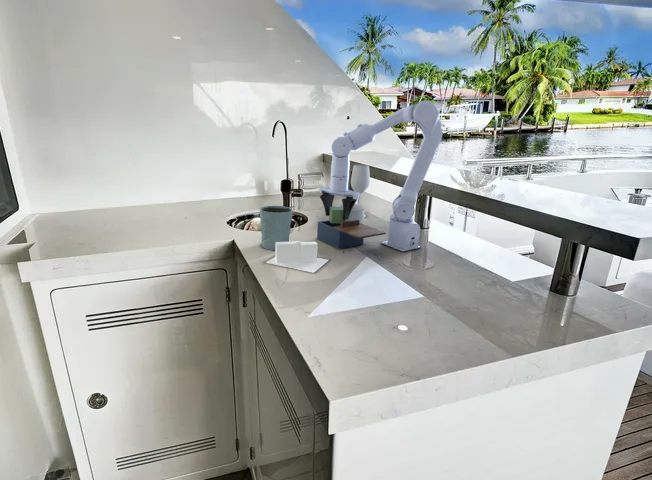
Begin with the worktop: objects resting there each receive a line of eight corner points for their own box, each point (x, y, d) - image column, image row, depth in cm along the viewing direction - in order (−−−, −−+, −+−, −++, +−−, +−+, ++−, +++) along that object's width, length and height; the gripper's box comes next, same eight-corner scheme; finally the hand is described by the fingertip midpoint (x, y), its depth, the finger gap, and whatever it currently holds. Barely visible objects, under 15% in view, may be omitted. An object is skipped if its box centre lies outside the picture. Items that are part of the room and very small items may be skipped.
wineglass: (367, 218, 157) (372, 166, 150) (349, 217, 157) (353, 166, 150) (364, 213, 164) (369, 164, 158) (347, 213, 165) (350, 164, 158)
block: (344, 223, 124) (345, 209, 123) (331, 223, 124) (331, 209, 122) (342, 219, 129) (343, 206, 127) (328, 219, 128) (329, 206, 127)
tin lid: (385, 234, 115) (386, 227, 114) (359, 238, 110) (359, 231, 109) (358, 224, 125) (359, 217, 124) (333, 228, 120) (333, 221, 119)
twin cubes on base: (265, 262, 107) (265, 243, 105) (283, 251, 116) (283, 233, 114) (314, 272, 100) (315, 252, 99) (329, 259, 110) (330, 241, 108)
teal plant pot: (253, 245, 121) (253, 208, 117) (275, 238, 128) (276, 203, 124) (276, 253, 114) (276, 214, 110) (298, 245, 122) (299, 209, 118)
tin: (362, 244, 124) (364, 226, 122) (338, 249, 119) (340, 230, 117) (340, 234, 134) (341, 218, 132) (316, 238, 129) (317, 221, 127)
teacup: (365, 231, 139) (367, 210, 136) (335, 230, 139) (337, 209, 136) (359, 221, 152) (361, 202, 149) (332, 220, 152) (333, 201, 149)
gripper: (365, 177, 119) (362, 219, 124) (329, 172, 129) (326, 211, 133) (353, 179, 115) (350, 223, 119) (316, 174, 124) (314, 215, 128)
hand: (337, 217), depth 126 cm, fingers closed on block, 6 cm apart
